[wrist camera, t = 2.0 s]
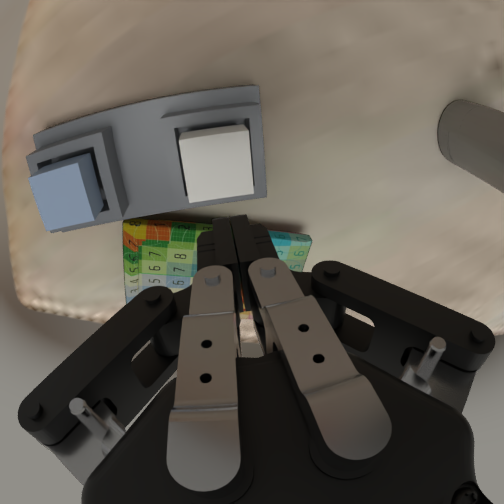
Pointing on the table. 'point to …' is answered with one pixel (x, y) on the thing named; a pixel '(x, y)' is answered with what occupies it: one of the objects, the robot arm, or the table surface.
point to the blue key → (67, 192)
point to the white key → (217, 162)
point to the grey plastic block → (151, 149)
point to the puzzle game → (184, 254)
